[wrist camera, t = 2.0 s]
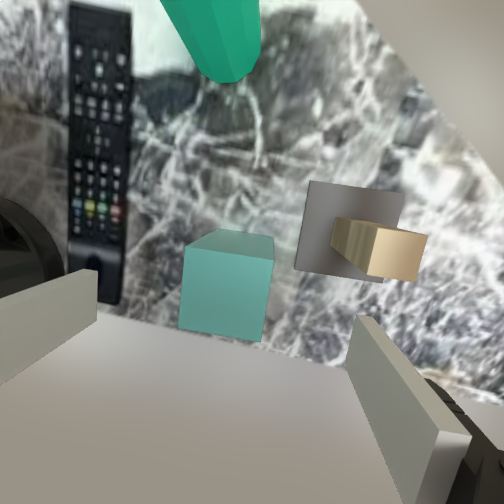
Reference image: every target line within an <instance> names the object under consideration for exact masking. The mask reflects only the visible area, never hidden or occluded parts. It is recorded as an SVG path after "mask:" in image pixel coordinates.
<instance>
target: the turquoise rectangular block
mask: <svg viewBox="0 0 504 504" xmlns="http://www.w3.org/2000/svg"><path fill="white" fill-rule="evenodd" d="M273 264H274V244H273V237H270V236H264V235H257V234H251V233H244V232H238V231H231V230H224V229H216V230H214V231H213V232H211V233H209V234H207V235H205V236H203V237H202V238H200V239H198V240H196V241H194V242H193V243H191V244H189V245H187V246H185V255H184V266H183V276H182V287H181V298H180V308H179V319H178V328H180V329H186V330H192V331H197V332H203V333H209V334H215V335H221V336H227V337H233V338H239V339H244V340H250V341H256V342H261V337H262V331H263V325H264V319H265V313H266V307H267V301H268V295H269V289H270V283H271V277H272V270H273Z"/></svg>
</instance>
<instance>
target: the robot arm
mask: <svg viewBox="0 0 504 504" xmlns="http://www.w3.org/2000/svg"><path fill="white" fill-rule="evenodd" d="M97 283H98V271H94V270H88V269H82V270H79V271H76V272H73V273H70V274H68V275H65V276H64V272H63V266H62V262H61V258H60V255H59V252H58V250H57V248H56V246H55V244H54V242H53V240H52V238H51V237H50V235H49V234H48V232H47V231H46V229H45V228H44V227H43V226H42V225H41V223H40V222H39V221H38V220H37V219H36V218H35V217H34V216H33V215H31V214H30V213H29V212H28V211H26V210H25V209H24V208H22V207H21V206H19V205H17V204H16V203H14V202H12V201H9V200H7V199H5V198H2V197H0V385H2V384H3V383H5V382H6V381H8V380H9V379H10V378H12V377H14V376H15V375H17V374H18V373H20V372H21V371H23V370H24V369H26V368H27V367H28V366H30V365H31V364H33V363H34V362H36V361H37V360H39V359H40V358H42V357H43V356H45V355H46V354H48V353H49V352H51V351H52V350H54V349H55V348H57V347H58V346H60V345H61V344H63V343H64V342H66V341H67V340H69V339H70V338H71V337H73V336H74V335H76V334H77V333H79V332H80V331H82V330H83V329H85V328H86V327H88V326H89V325H91V324H92V323H94V322H95V321H96V317H97ZM344 365H345V368H346V370H347V372H348V375H349V377H350V379H351V382H352V384H353V386H354V389H355V391H356V393H357V396H358V398H359V401H360V402H361V405H362V407H363V410H364V412H365V415H366V417H367V419H368V421H369V424H370V426H371V429H372V431H373V433H374V436H375V438H376V440H377V443H378V445H379V448H380V450H381V452H382V455H383V457H384V459H385V462H386V464H387V466H388V469H389V471H390V474H391V476H392V478H393V481H394V483H395V485H396V488H397V490H398V492H399V495H400V497H401V499H402V502H403V504H504V451H502V450H498V449H497V448H496V447H495V446H494V445H493V444H492V442H491V441H490V440H489V439H488V438H487V437H486V436H485V435H484V433H483V432H482V431H481V430H480V429H479V428H478V427H477V426H476V425H475V424H474V422H473V421H472V420H471V419H470V418H469V417H468V416H467V415H465V413H464V411H463V410H462V409H461V408H460V407H459V406H458V405H457V404H456V403H455V401H454V400H453V399H452V398H451V397H450V396H449V394H448V393H447V392H446V391H445V390H444V389H442V388H441V387H440V386H438V385H437V384H436V383H434V382H433V381H432V380H430V379H425V378H423V377H422V376H421V375H420V373H419V372H418V371H417V370H416V369H415V367H414V366H413V365H412V364H411V363H410V362H409V360H408V359H407V358H406V357H405V356H404V354H403V353H402V352H401V351H400V350H399V348H398V347H397V346H396V345H395V344H394V342H393V341H392V340H391V339H390V338H389V336H388V335H387V334H386V333H385V332H384V331H383V329H382V328H381V327H380V326H379V325H378V323H377V322H376V321H375V320H374V319H373V317H368V316H362V315H356V318H355V322H354V327H353V331H352V335H351V339H350V343H349V347H348V352H347V356H346V360H345V364H344Z"/></svg>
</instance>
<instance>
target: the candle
mask: <svg viewBox="0 0 504 504" xmlns="http://www.w3.org/2000/svg"><path fill="white" fill-rule="evenodd" d="M160 2H161V3H162V5H163V7H164V9H165V10H166V12H167V14H168V16H169V18H170V19H171V21H172V23H173V25H174V26H175V28H176V30H177V32H178V33H179V35H180V37H181V39H182V41H183V42H184V44H185V46H186V48H187V49H188V51H189V53H190V55H191V57H192V58H193V60H194V62H195V64H196V65H197V67H198V69H199V71H200V72H201V74H203V75H204V76H206V77H208V78H209V79H211V80H213V81H215V82H216V83H233V82H237V81H238V80H240V79H241V78H243V77H244V76H246V75H247V74H248V73H250V72H251V71H252V70H253V67H254V65H255V63H256V61H257V59H258V57H259V55H260V53H261V27H260V12H259V0H160Z"/></svg>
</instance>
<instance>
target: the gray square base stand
mask: <svg viewBox="0 0 504 504" xmlns="http://www.w3.org/2000/svg"><path fill="white" fill-rule="evenodd" d="M404 197H405V194H402V193H395V192H388V191H381V190H374V189H367V188H360V187H353V186H346V185H339V184H332V183H325V182H318V181H310V184H309V189H308V195H307V200H306V205H305V211H304V216H303V222H302V227H301V233H300V238H299V244H298V249H297V255H296V260H295V266H294V269H295V270H300V271H307V272H313V273H319V274H326V275H332V276H339V277H345V278H351V279H358V280H364V281H370V282H377V283H383V279H384V278H390V279H397V280H403V281H409V282H415V280H416V277H417V273H418V270H419V266H420V262H421V259H422V255H423V252H424V248H425V245H426V241H427V238H428V235H424V234H420V233H416V232H411V231H407V230H403V229H398V228H397V225H398V221H399V217H400V213H401V209H402V205H403V201H404Z"/></svg>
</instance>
